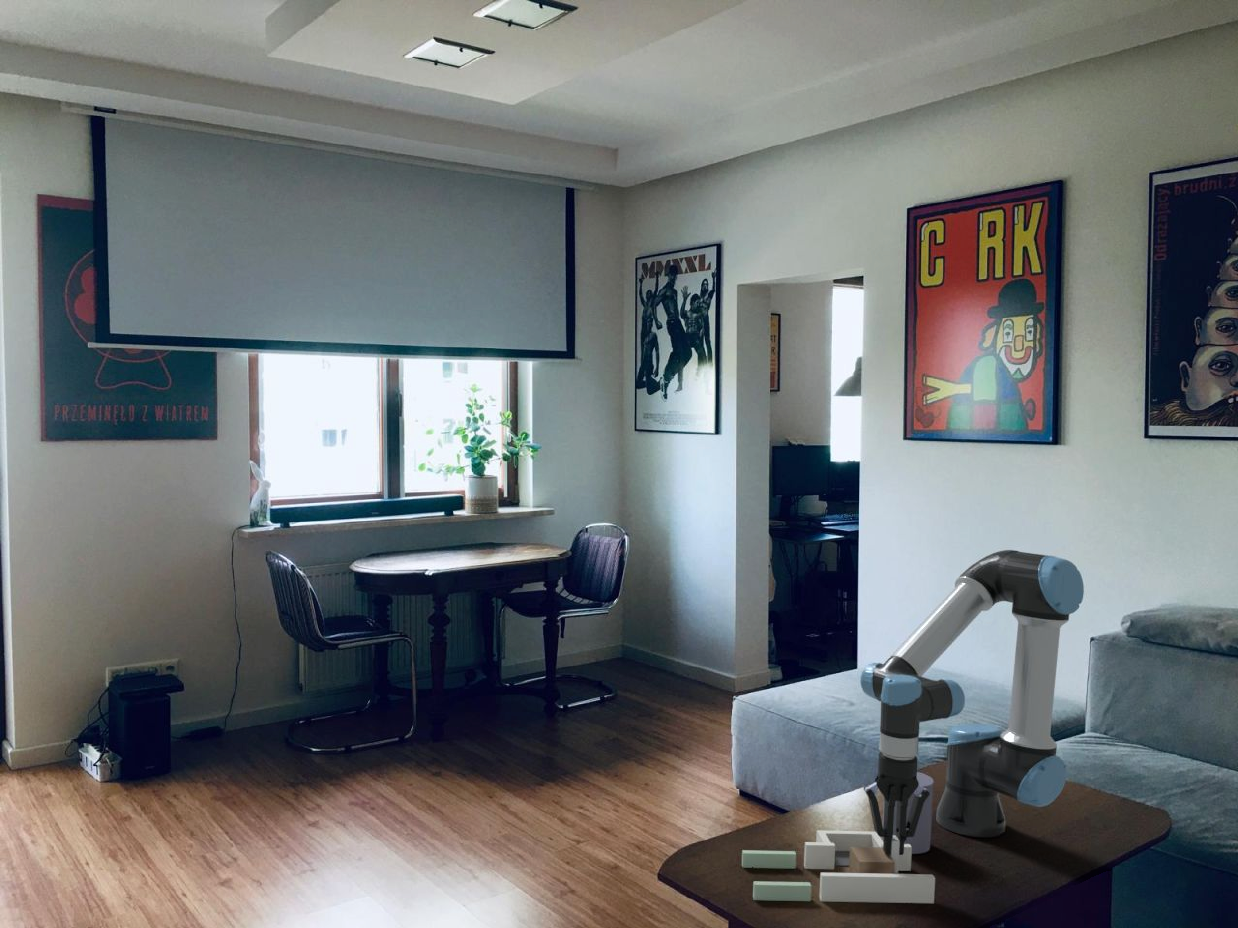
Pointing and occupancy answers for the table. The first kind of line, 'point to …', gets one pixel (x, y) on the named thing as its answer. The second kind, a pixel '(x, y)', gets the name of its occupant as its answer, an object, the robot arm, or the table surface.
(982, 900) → the table surface
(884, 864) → the block
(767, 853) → the rails
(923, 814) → the lavender cylinder
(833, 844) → the white walled enclosure
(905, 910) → the table surface
